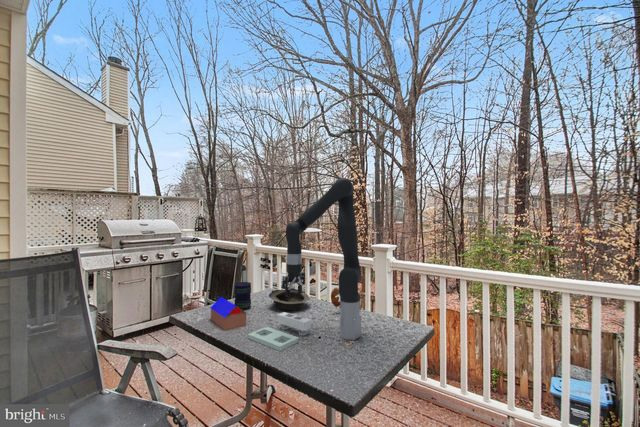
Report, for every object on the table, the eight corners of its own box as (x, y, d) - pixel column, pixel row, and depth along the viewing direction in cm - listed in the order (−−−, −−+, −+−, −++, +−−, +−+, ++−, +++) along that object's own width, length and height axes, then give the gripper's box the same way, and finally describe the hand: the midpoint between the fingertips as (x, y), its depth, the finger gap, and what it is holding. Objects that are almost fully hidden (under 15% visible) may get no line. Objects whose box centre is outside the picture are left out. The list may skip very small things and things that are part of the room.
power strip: (310, 334, 152) (311, 319, 152) (304, 337, 149) (304, 322, 148) (284, 325, 163) (284, 311, 163) (277, 328, 160) (277, 314, 159)
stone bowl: (271, 300, 207) (272, 286, 207) (309, 303, 207) (310, 289, 207) (264, 312, 182) (266, 296, 182) (307, 316, 182) (309, 300, 182)
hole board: (298, 341, 143) (298, 337, 143) (280, 351, 134) (280, 346, 134) (266, 330, 156) (267, 326, 156) (247, 338, 147) (247, 334, 147)
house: (224, 331, 156) (224, 307, 155) (210, 320, 171) (210, 298, 171) (246, 325, 163) (247, 303, 163) (231, 315, 179) (231, 295, 178)
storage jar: (234, 306, 194) (234, 282, 194) (250, 305, 197) (250, 281, 197) (234, 311, 185) (234, 286, 184) (251, 310, 188) (251, 285, 187)
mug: (355, 312, 186) (356, 286, 185) (356, 316, 177) (356, 290, 177) (331, 311, 187) (331, 285, 187) (330, 315, 179) (330, 289, 179)
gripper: (289, 265, 148) (289, 300, 148) (309, 261, 159) (309, 293, 159) (278, 263, 152) (278, 297, 152) (298, 260, 164) (297, 291, 164)
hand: (293, 295), depth 156 cm, fingers open, 8 cm apart
